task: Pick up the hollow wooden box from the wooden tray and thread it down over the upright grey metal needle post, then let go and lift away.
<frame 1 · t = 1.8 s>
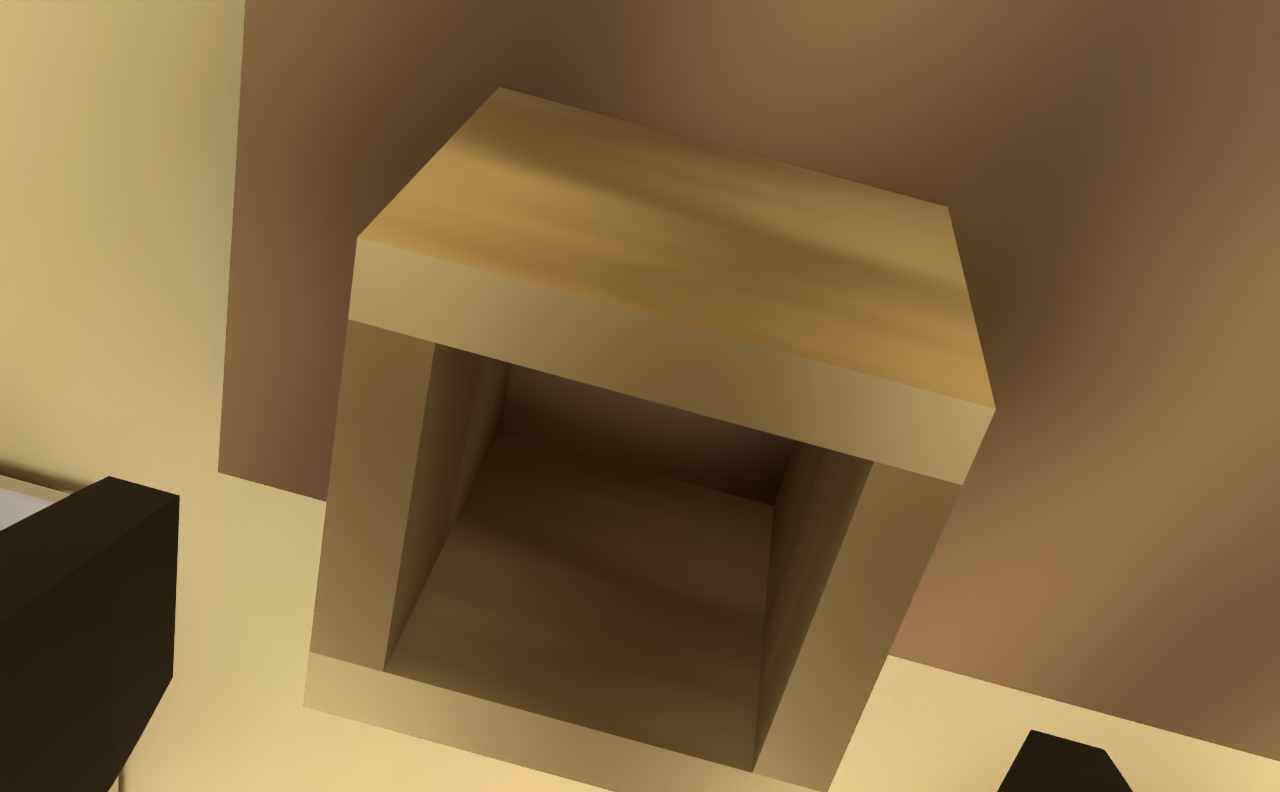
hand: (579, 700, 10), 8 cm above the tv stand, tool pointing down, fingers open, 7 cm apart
wooden tray: (960, 164, 15), on the tv stand
hollow wooden box: (668, 346, 16), point 1 cm above the tv stand, touching wooden tray
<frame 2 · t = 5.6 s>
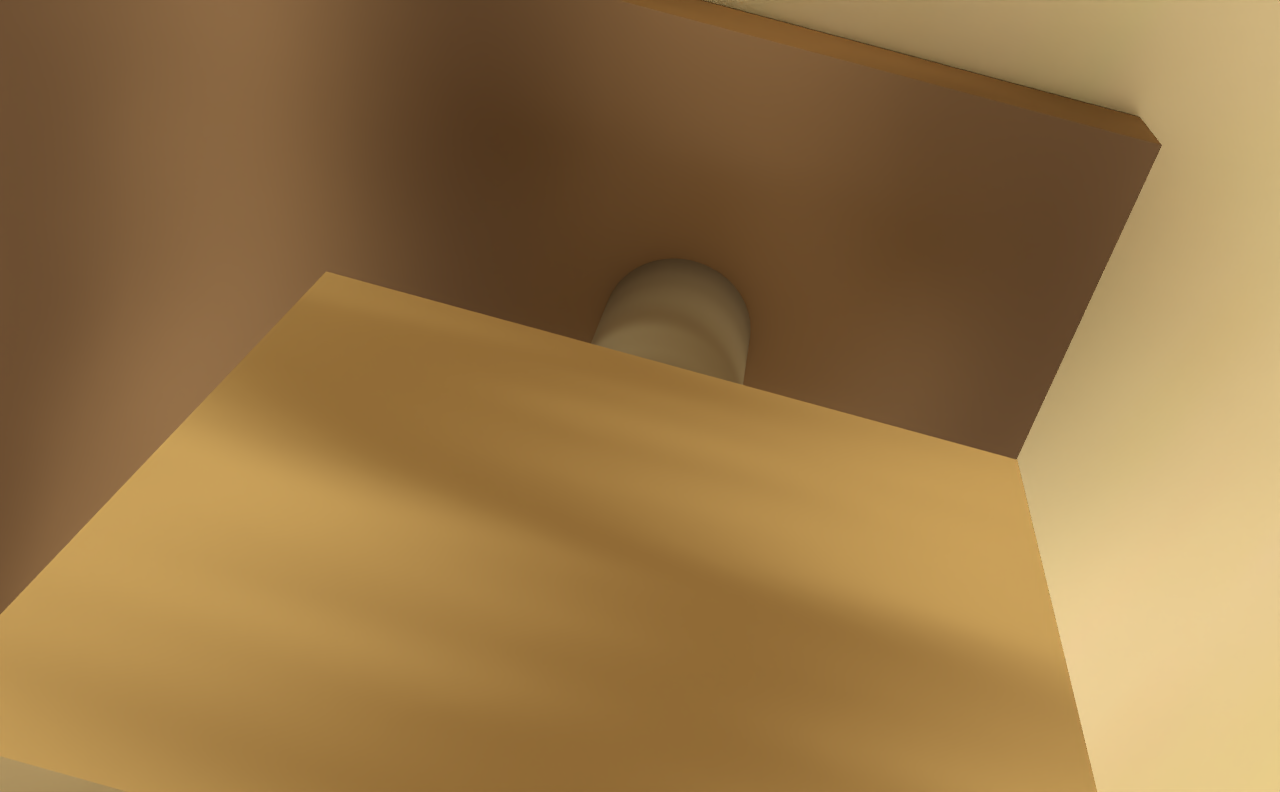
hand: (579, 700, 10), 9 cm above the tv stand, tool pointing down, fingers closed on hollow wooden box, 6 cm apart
wooden tray: (395, 393, 19), on the tv stand
hollow wooden box: (597, 630, 11), point 8 cm above the tv stand, touching gripper
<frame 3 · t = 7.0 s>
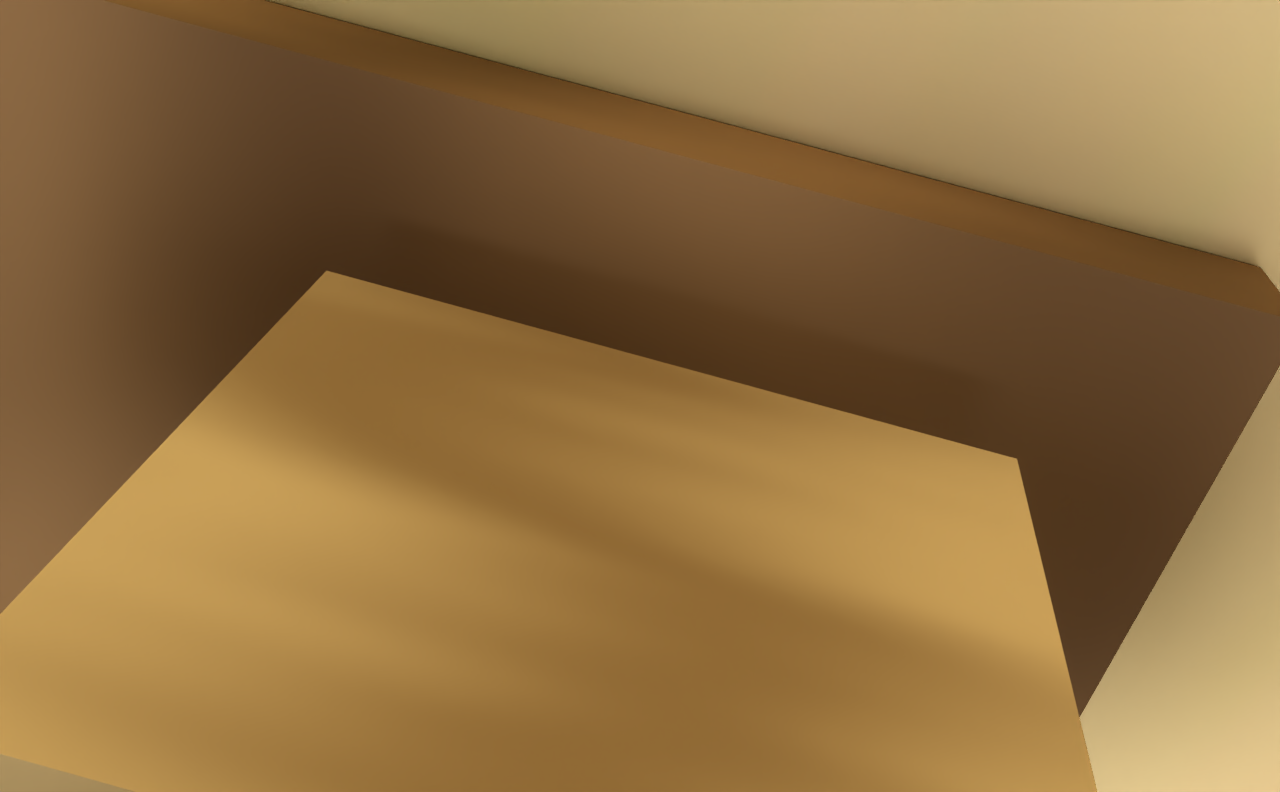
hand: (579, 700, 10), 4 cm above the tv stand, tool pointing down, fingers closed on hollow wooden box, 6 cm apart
wooden tray: (267, 587, 15), on the tv stand
hollow wooden box: (597, 629, 11), point 3 cm above the tv stand, touching gripper
when the fingers open (3 cm above the tv stand, at t = 8.0 s): hollow wooden box drops 1 cm, resting on wooden tray.
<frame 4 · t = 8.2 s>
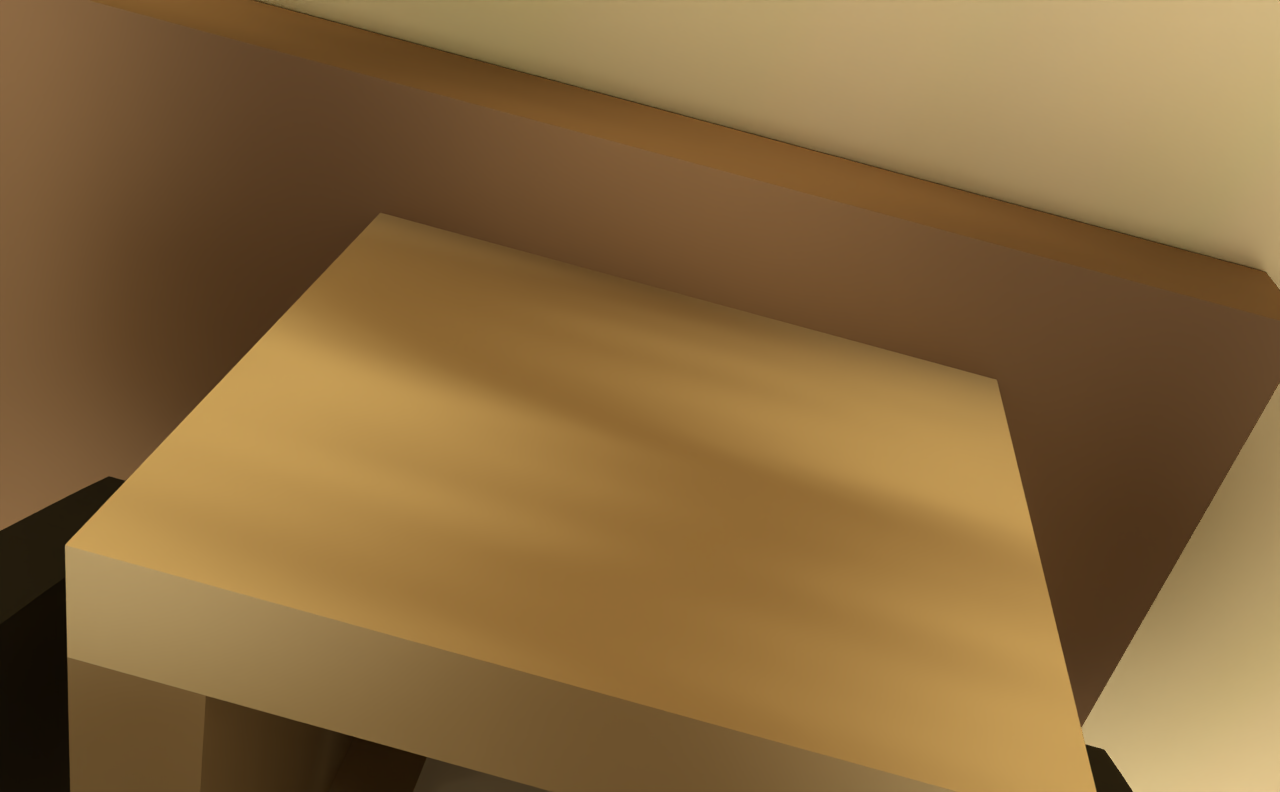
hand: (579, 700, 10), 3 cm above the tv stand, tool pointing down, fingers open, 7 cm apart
wooden tray: (263, 592, 15), on the tv stand
hollow wooden box: (619, 543, 12), point 1 cm above the tv stand, touching wooden tray
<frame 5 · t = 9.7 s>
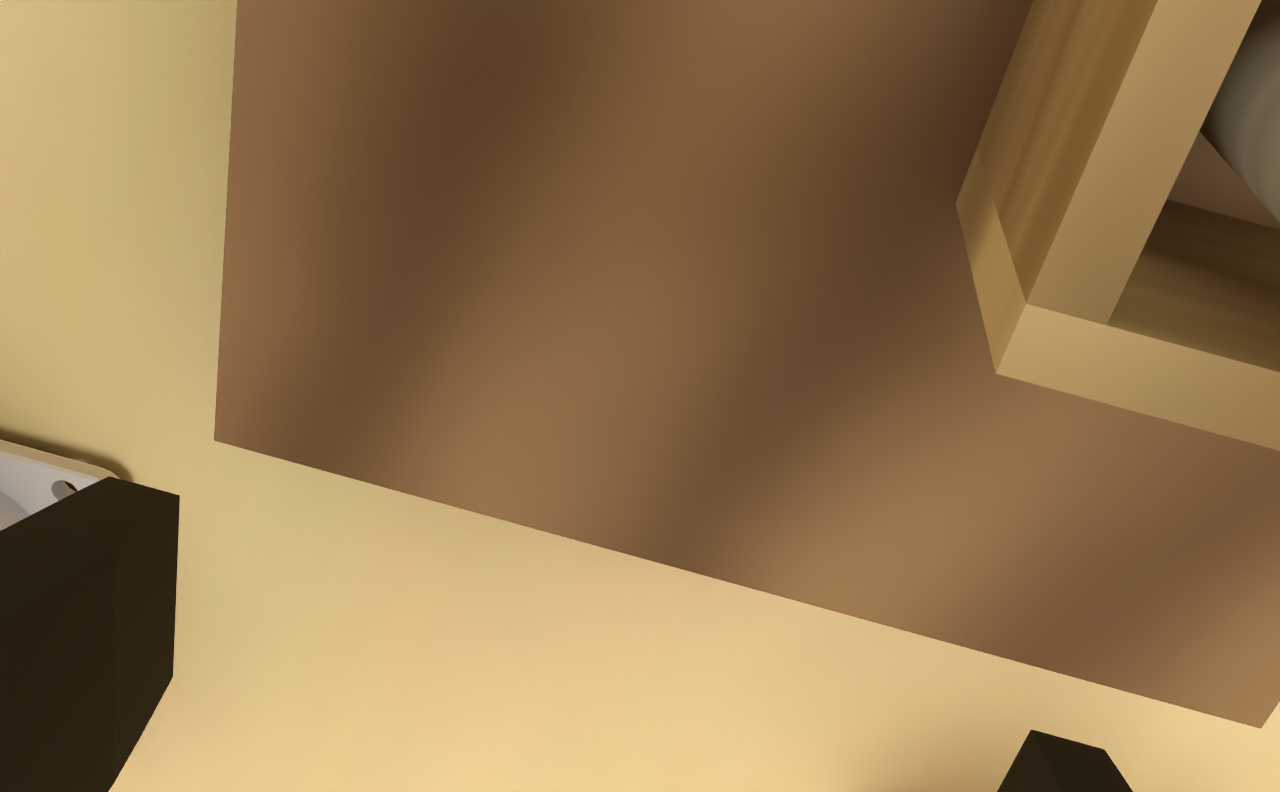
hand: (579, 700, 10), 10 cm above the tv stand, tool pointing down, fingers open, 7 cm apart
wooden tray: (864, 167, 18), on the tv stand
hollow wooden box: (1253, 55, 15), point 1 cm above the tv stand, touching wooden tray
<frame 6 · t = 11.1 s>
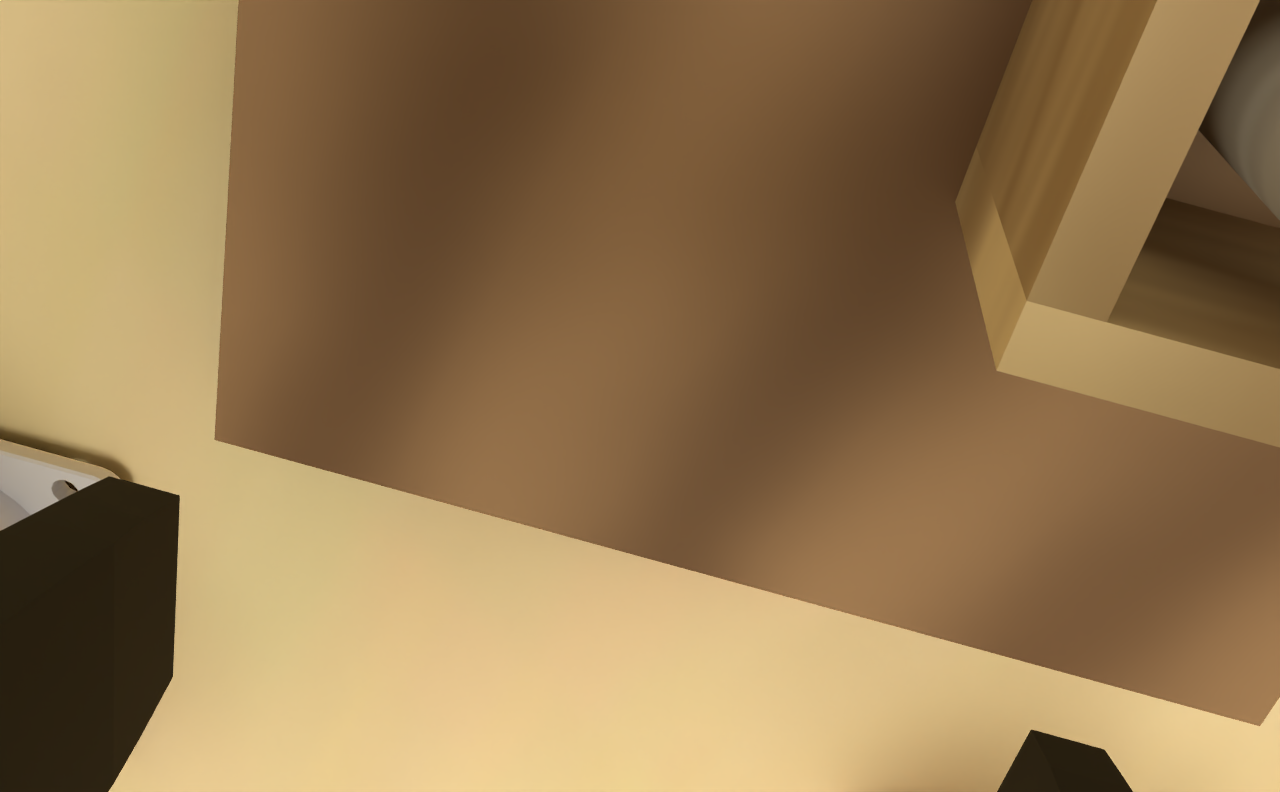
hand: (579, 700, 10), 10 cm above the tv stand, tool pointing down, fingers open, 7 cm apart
wooden tray: (864, 166, 18), on the tv stand
hollow wooden box: (1251, 54, 15), point 1 cm above the tv stand, touching wooden tray
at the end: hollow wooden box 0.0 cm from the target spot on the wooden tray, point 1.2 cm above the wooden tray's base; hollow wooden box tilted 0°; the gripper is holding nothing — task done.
